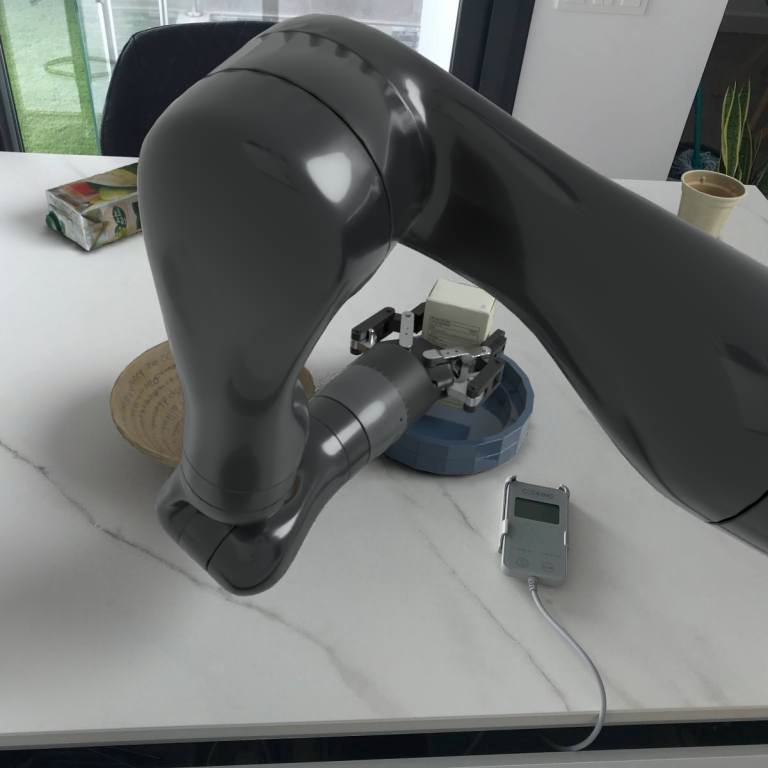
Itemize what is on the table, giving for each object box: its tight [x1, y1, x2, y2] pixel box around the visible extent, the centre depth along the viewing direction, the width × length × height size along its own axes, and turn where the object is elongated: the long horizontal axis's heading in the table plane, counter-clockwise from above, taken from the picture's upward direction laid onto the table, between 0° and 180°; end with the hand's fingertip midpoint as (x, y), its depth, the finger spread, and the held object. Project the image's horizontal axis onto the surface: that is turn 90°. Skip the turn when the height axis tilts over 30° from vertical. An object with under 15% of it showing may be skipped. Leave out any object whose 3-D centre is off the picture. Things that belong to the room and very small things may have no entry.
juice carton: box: [45, 161, 142, 252], centre depth 107 cm, size 20×10×6 cm, turn 138°
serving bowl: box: [383, 334, 535, 476], centre depth 80 cm, size 18×18×4 cm
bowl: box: [109, 339, 317, 469], centre depth 73 cm, size 18×18×8 cm
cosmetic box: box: [420, 277, 498, 413], centre depth 76 cm, size 6×4×12 cm
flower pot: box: [677, 169, 749, 238], centre depth 116 cm, size 9×9×9 cm
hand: (467, 322), depth 76 cm, fingers closed on cosmetic box, 7 cm apart
